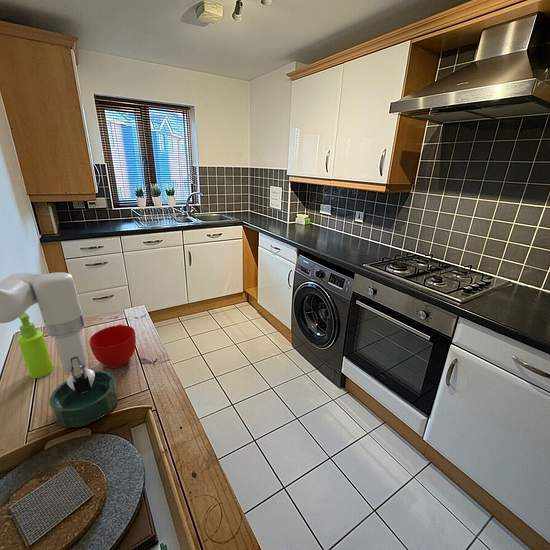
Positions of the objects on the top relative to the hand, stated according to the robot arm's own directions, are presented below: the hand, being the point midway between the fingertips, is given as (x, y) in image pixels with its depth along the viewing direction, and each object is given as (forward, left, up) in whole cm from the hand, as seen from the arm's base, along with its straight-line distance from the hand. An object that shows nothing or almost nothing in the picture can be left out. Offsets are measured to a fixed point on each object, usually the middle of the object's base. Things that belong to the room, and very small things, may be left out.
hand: (82, 383), depth 76 cm
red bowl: (+11, +18, -8) cm, 23 cm away
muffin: (0, 0, -2) cm, 2 cm away
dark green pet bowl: (0, 0, -8) cm, 8 cm away
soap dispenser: (-10, +25, -8) cm, 28 cm away
